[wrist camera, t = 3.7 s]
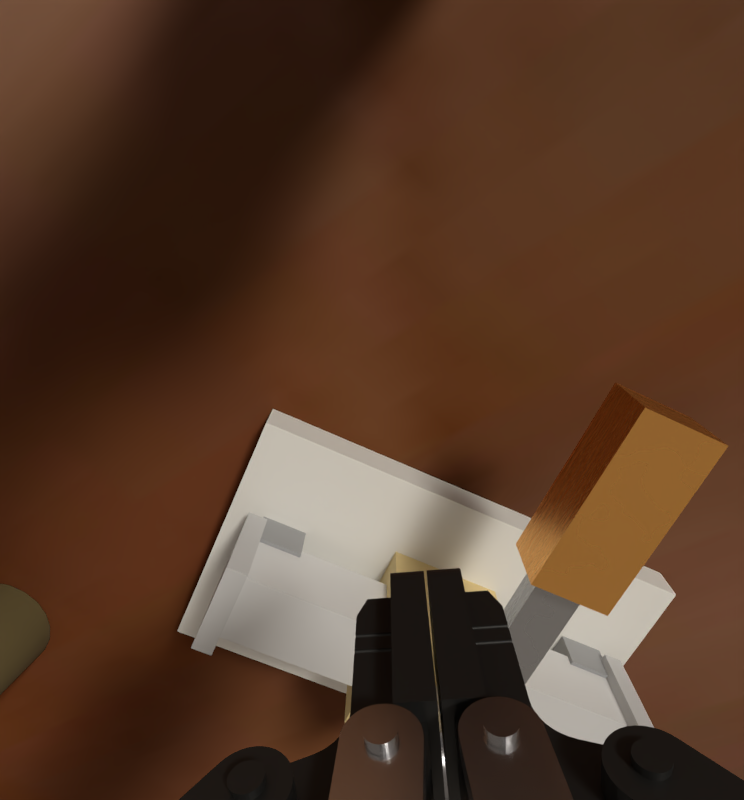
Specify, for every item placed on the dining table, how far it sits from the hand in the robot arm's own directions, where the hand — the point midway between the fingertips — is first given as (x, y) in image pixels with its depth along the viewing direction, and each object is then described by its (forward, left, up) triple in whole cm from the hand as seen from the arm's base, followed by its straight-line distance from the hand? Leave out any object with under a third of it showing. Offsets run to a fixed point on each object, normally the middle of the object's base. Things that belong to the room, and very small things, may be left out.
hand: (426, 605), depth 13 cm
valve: (+7, -12, -19) cm, 24 cm away
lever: (+7, -4, -9) cm, 12 cm away
